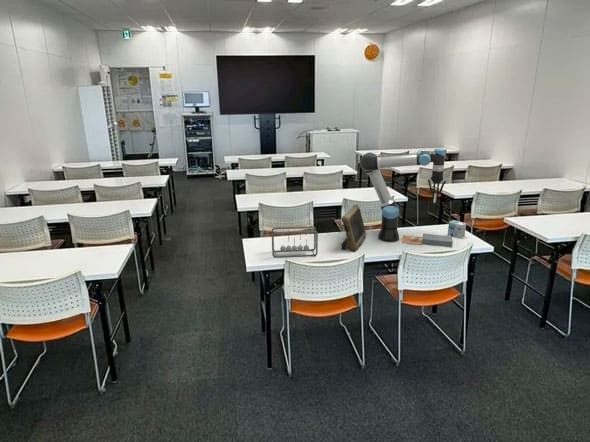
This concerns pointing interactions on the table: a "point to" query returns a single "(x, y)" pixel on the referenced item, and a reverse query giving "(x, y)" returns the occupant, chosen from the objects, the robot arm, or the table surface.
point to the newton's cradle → (294, 248)
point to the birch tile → (416, 239)
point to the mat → (409, 240)
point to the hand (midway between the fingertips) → (434, 202)
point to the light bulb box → (456, 229)
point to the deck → (437, 240)
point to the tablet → (353, 229)
